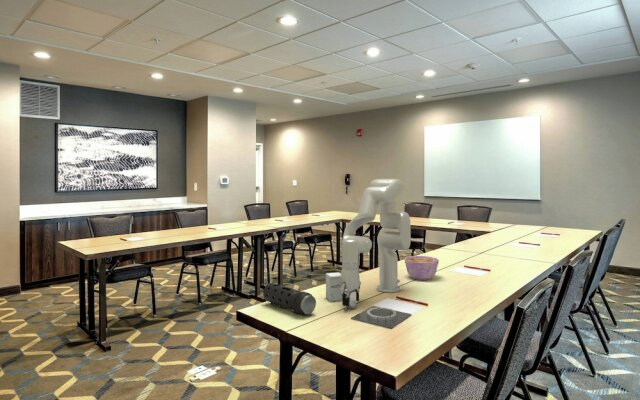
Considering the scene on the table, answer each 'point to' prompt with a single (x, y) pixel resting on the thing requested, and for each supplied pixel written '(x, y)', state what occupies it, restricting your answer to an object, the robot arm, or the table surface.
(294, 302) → the muzzle brake
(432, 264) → the bowl of food
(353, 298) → the piston
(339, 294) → the supplement box
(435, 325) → the table surface
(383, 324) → the ring mat
